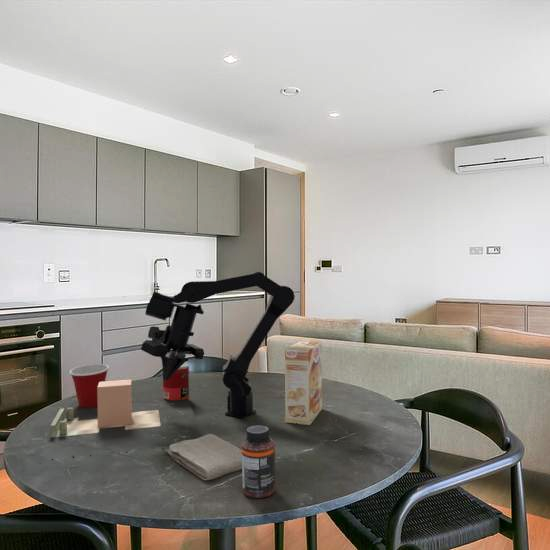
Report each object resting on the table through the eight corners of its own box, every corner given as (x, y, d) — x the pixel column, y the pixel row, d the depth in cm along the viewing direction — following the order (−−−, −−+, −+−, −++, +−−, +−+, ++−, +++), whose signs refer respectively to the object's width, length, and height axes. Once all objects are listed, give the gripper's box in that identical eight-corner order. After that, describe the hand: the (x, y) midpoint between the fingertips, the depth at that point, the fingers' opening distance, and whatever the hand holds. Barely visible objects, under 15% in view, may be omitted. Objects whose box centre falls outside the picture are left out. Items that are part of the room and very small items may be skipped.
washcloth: (210, 442, 106) (210, 429, 106) (257, 467, 92) (257, 452, 92) (163, 456, 98) (163, 442, 98) (207, 485, 84) (207, 468, 84)
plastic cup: (61, 412, 128) (60, 370, 128) (85, 402, 138) (85, 363, 138) (94, 415, 125) (94, 372, 125) (117, 404, 136) (116, 364, 136)
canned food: (186, 404, 135) (186, 367, 135) (160, 404, 135) (159, 367, 135) (191, 397, 143) (191, 362, 143) (166, 397, 143) (166, 362, 143)
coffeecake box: (310, 425, 115) (309, 349, 115) (284, 422, 118) (283, 348, 117) (323, 408, 129) (322, 341, 129) (299, 406, 132) (299, 340, 132)
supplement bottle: (257, 480, 85) (256, 420, 85) (282, 490, 81) (281, 427, 81) (235, 492, 80) (234, 429, 80) (260, 503, 76) (259, 437, 76)
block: (131, 416, 120) (131, 379, 120) (131, 424, 114) (131, 384, 114) (99, 419, 117) (99, 381, 117) (97, 427, 112) (97, 387, 112)
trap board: (158, 414, 126) (158, 399, 126) (160, 430, 112) (160, 414, 112) (60, 423, 118) (60, 407, 118) (50, 442, 105) (50, 424, 105)
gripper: (186, 320, 136) (170, 370, 135) (137, 313, 121) (119, 369, 120) (212, 331, 130) (196, 383, 129) (164, 325, 114) (145, 384, 114)
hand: (165, 380), depth 123 cm, fingers closed
